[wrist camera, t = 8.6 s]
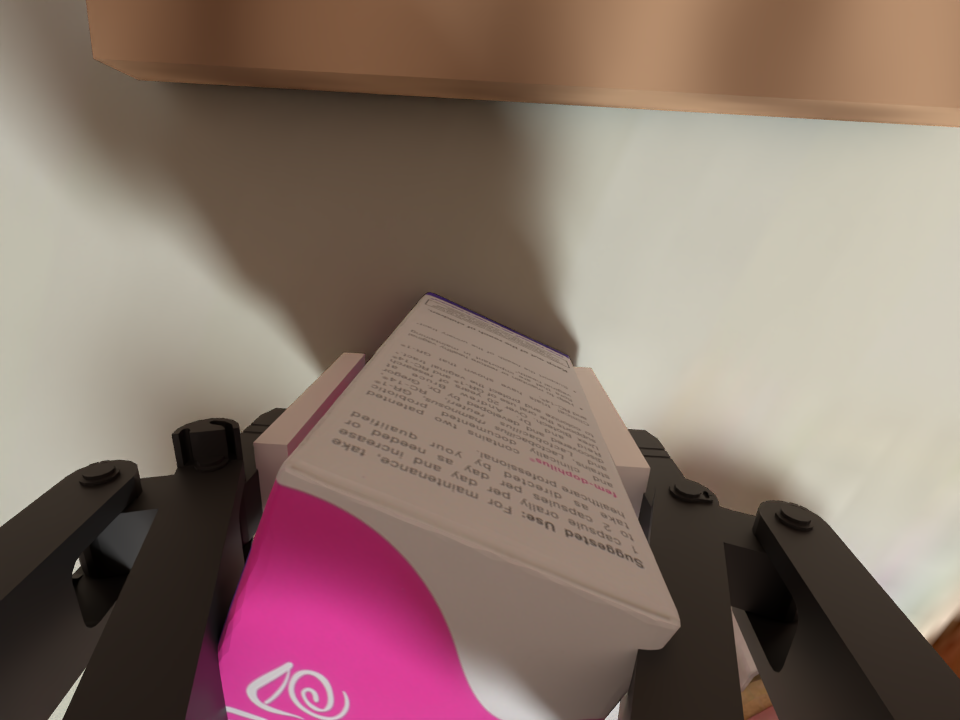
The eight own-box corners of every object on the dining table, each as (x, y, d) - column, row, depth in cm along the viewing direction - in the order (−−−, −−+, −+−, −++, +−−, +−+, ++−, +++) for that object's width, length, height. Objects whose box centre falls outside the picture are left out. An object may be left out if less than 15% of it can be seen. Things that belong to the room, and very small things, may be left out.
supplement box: (421, 285, 16) (276, 454, 5) (572, 354, 17) (718, 630, 6) (364, 421, 18) (167, 760, 7) (503, 478, 19) (519, 869, 8)
